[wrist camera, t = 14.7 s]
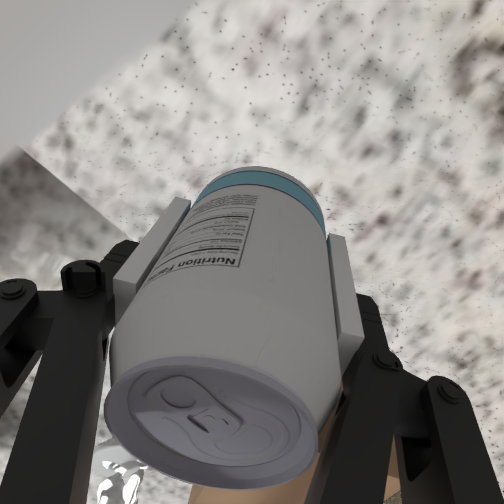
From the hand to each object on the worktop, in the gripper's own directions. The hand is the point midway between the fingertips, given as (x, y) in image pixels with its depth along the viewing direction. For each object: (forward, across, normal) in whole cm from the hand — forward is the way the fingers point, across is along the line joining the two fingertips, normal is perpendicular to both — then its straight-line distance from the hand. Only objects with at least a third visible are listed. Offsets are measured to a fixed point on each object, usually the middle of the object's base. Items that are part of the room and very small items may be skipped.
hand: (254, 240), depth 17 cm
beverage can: (+2, 0, 0) cm, 2 cm away
